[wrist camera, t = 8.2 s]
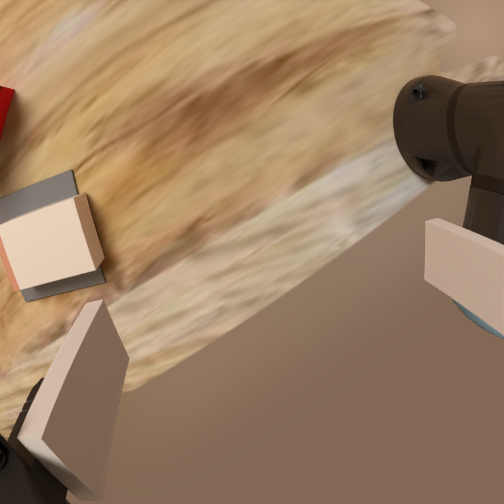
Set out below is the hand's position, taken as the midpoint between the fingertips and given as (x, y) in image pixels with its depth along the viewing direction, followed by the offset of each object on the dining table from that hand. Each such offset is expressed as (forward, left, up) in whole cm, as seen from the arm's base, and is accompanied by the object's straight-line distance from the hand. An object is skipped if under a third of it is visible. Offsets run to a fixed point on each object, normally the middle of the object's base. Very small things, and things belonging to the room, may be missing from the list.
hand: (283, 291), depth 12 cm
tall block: (+15, 0, -23) cm, 28 cm away
